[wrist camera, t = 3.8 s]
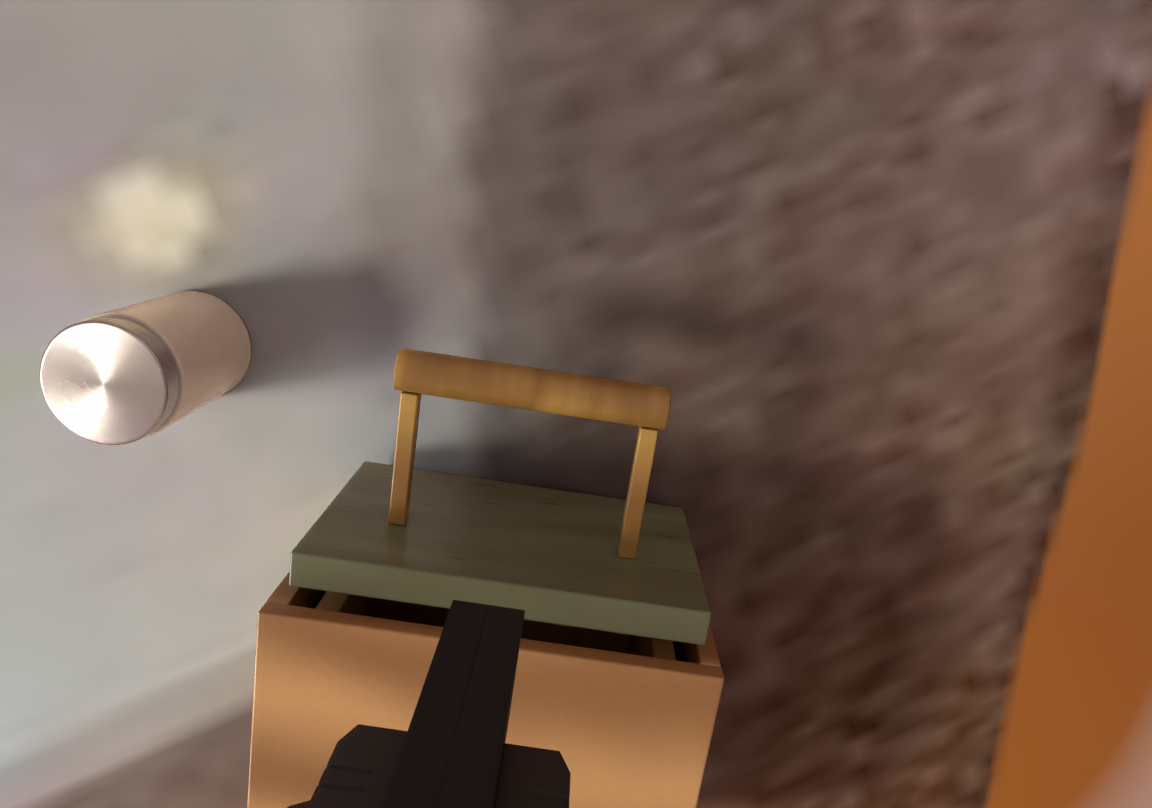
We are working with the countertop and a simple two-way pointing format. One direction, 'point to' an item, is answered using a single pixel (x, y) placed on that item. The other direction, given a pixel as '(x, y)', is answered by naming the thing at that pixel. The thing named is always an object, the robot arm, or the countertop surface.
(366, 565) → the drawer
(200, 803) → the countertop surface
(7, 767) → the countertop surface
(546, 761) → the robot arm
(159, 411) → the salt shaker
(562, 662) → the cabinet
